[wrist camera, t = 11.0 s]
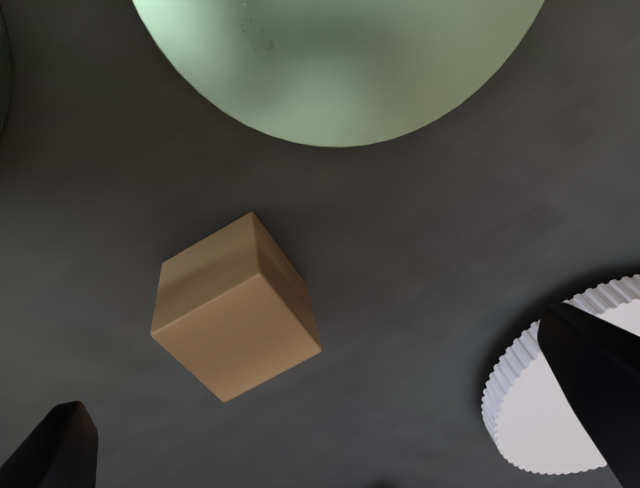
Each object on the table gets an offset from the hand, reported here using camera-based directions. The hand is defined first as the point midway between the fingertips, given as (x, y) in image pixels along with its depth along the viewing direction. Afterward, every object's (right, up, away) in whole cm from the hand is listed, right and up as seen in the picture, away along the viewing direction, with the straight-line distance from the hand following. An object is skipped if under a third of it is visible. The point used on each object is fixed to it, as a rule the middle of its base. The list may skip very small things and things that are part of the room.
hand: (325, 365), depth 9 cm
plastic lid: (+15, -4, +19) cm, 25 cm away
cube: (-4, +1, +12) cm, 12 cm away
